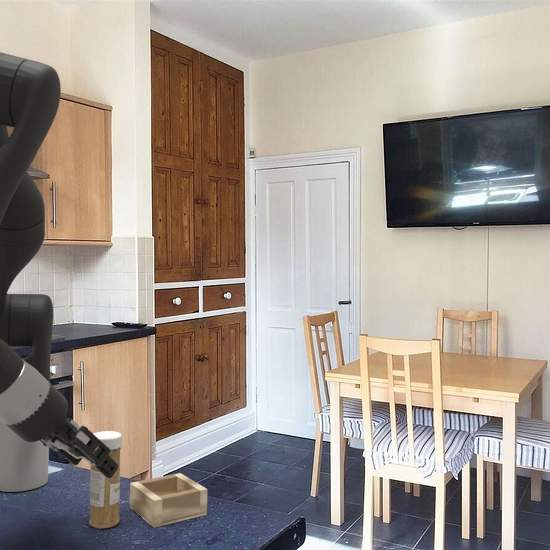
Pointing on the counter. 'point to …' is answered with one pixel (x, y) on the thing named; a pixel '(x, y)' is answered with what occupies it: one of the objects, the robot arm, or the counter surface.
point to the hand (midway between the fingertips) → (96, 465)
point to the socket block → (168, 499)
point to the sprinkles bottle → (106, 486)
